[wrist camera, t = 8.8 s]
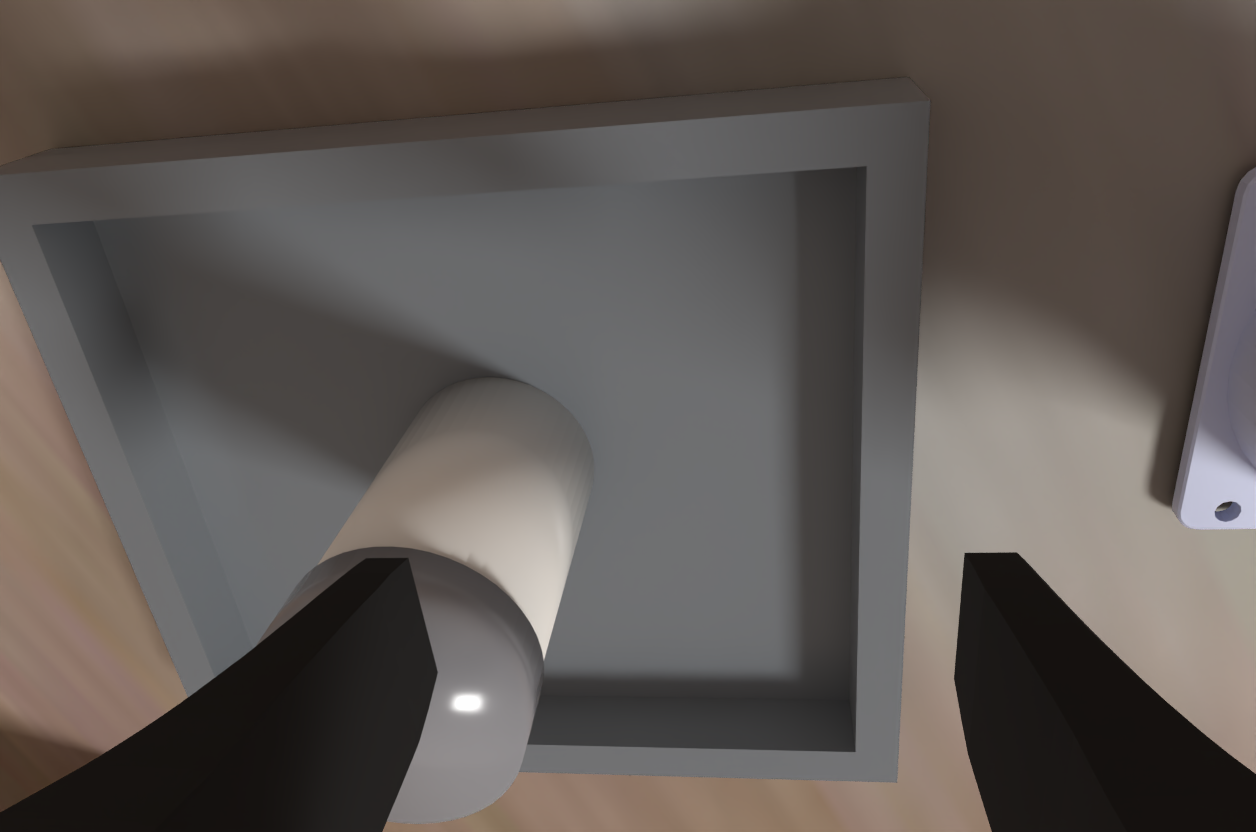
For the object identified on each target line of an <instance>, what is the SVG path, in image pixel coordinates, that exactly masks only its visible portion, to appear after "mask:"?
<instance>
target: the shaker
mask: <svg viewBox="0 0 1256 832" xmlns="http://www.w3.org/2000/svg"><path fill="white" fill-rule="evenodd" d="M593 480H594V459H593V453H592V450H591V446H590V443H589V441H588V439H587V436H586V434H585V432H584V431H583V429H582V427H581V426H580V424H579V423H578V421H577V420H576V419H575V418H574V416H573V415H572V414H571V413H570V412H569V411H568V410H567V409H566V408H565V407H564V406H563V405H562V404H561V403H559V402H558V401H557V400H555V399H554V398H553V397H551V396H550V395H548V394H546V393H545V392H543V391H541V390H539V389H537V388H535V387H533V386H531V385H528V384H525V383H522V382H519V381H515V380H510V379H505V378H495V377H483V378H474V379H467V380H464V381H461V382H457V383H454V384H452V385H450V386H448V387H446V388H444V389H442V390H441V391H439V392H438V393H436V394H435V395H434V396H433V397H431V398H430V399H429V400H428V401H427V402H426V403H425V404H424V406H423V407H422V408H421V409H420V411H419V412H418V414H417V415H416V417H415V418H414V420H413V421H412V423H411V424H410V426H409V427H408V429H407V430H406V432H405V433H404V435H403V436H402V438H401V440H400V441H399V443H398V444H397V446H396V447H395V449H394V450H393V452H392V453H391V455H390V456H389V458H388V459H387V461H386V462H385V464H384V465H383V467H382V468H381V470H380V471H379V473H378V474H377V476H376V477H375V479H374V480H373V482H372V483H371V485H370V486H369V488H368V489H367V491H366V492H365V494H364V495H363V497H362V498H361V500H360V501H359V503H358V504H357V506H356V507H355V509H354V510H353V512H352V513H351V515H350V516H349V518H348V519H347V521H346V523H345V524H344V526H343V527H342V529H341V530H340V532H339V533H338V535H337V536H336V538H335V539H334V541H333V542H332V544H331V545H330V547H329V548H328V550H327V551H326V553H325V554H324V556H323V557H322V559H321V560H320V562H319V563H318V565H317V566H315V567H314V568H313V569H312V570H311V571H309V572H308V573H307V574H306V575H305V576H304V577H303V578H302V579H301V581H300V582H299V583H298V584H297V585H296V587H295V588H294V590H293V591H292V593H291V594H290V596H289V597H288V599H287V600H286V602H285V603H284V605H283V606H282V608H281V609H280V611H279V612H278V614H277V615H276V617H275V618H274V620H273V621H272V623H271V624H270V626H269V627H268V629H267V630H266V631H265V633H264V634H263V636H262V637H261V639H260V640H259V642H258V643H257V645H258V644H259V643H261V642H262V641H263V640H264V639H265V638H267V637H268V636H269V635H270V634H272V633H273V632H274V631H275V630H277V629H278V628H279V627H280V626H282V625H283V624H284V623H285V622H286V621H288V620H289V619H290V618H291V617H293V616H294V615H295V614H296V613H298V612H299V611H300V610H301V609H302V608H304V607H305V606H306V605H307V604H308V603H310V602H311V601H312V600H313V599H315V598H316V597H317V596H318V595H319V594H321V593H322V592H323V591H324V590H325V589H327V588H328V587H329V586H330V585H332V584H333V583H334V582H335V581H337V580H338V579H339V578H340V577H342V576H343V575H344V574H345V573H347V572H348V571H349V570H350V569H352V568H353V567H354V566H356V565H357V564H359V563H360V562H361V561H363V560H364V559H365V558H409V562H410V566H411V570H412V574H413V577H414V581H415V585H416V589H417V593H418V597H419V601H420V605H421V609H422V612H423V616H424V620H425V624H426V628H427V632H428V636H429V640H430V644H431V647H432V651H433V655H434V659H435V663H436V667H437V671H438V674H437V678H436V682H435V686H434V690H433V694H432V698H431V702H430V706H429V710H428V713H427V717H426V720H425V724H424V727H423V731H422V734H421V738H420V741H419V744H418V747H417V749H416V752H415V754H414V757H413V759H412V762H411V764H410V766H409V769H408V771H407V774H406V776H405V779H404V781H403V783H402V786H401V788H400V791H399V793H398V796H397V798H396V800H395V803H394V805H393V807H392V810H391V812H390V815H389V817H388V819H387V821H389V822H397V823H410V824H426V823H438V822H445V821H451V820H455V819H459V818H462V817H466V816H468V815H471V814H473V813H476V812H478V811H480V810H482V809H484V808H485V807H487V806H489V805H491V804H492V803H493V802H495V801H496V800H497V799H498V798H500V797H501V796H502V795H503V794H504V793H505V792H506V791H507V789H508V788H509V787H510V786H511V785H512V783H513V781H514V780H515V778H516V776H517V775H518V772H519V770H520V767H521V764H522V761H523V757H524V754H525V750H526V746H527V743H528V739H529V735H530V731H531V728H532V724H533V720H534V717H535V713H536V709H537V706H538V702H539V698H540V694H541V691H542V686H543V680H544V658H545V655H546V651H547V648H548V644H549V640H550V637H551V633H552V630H553V626H554V622H555V619H556V615H557V612H558V608H559V604H560V601H561V597H562V594H563V590H564V586H565V583H566V579H567V576H568V572H569V568H570V565H571V561H572V558H573V554H574V550H575V547H576V543H577V540H578V536H579V532H580V529H581V525H582V522H583V518H584V514H585V511H586V507H587V504H588V500H589V496H590V493H591V489H592V485H593ZM257 645H256V646H257ZM256 646H255V647H256Z"/></svg>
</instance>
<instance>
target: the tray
mask: <svg viewBox="0 0 1256 832" xmlns="http://www.w3.org/2000/svg"><path fill="white" fill-rule="evenodd" d="M930 102H931V100H930V99H929V98H928V97H927V96H926V95H925V94H924V93H923V92H922V91H921V90H920V89H919V87H918V86H917V85H916V84H915V83H914V82H913V81H912V80H911V79H910V78H909V77H902V78H890V79H878V80H866V81H854V82H842V83H830V84H819V85H807V86H795V87H783V88H771V89H759V90H747V91H735V92H723V93H711V94H700V95H688V96H676V97H664V98H652V99H640V100H628V101H616V102H604V103H592V104H581V105H569V106H557V107H545V108H533V109H521V110H509V111H497V112H485V113H473V114H462V115H450V116H438V117H426V118H414V119H402V120H390V121H378V122H366V123H355V124H343V125H331V126H319V127H307V128H295V129H283V130H271V131H259V132H247V133H236V134H224V135H212V136H200V137H188V138H176V139H164V140H152V141H140V142H128V143H117V144H105V145H93V146H81V147H69V148H57V149H49V150H46V151H43V152H40V153H37V154H34V155H31V156H28V157H25V158H22V159H19V160H16V161H14V162H11V163H8V164H5V165H2V166H0V260H1V262H2V265H3V267H4V269H5V272H6V274H7V276H8V279H9V281H10V283H11V286H12V288H13V290H14V293H15V295H16V297H17V300H18V302H19V304H20V307H21V309H22V311H23V314H24V316H25V318H26V321H27V323H28V325H29V328H30V330H31V332H32V335H33V337H34V339H35V342H36V344H37V346H38V349H39V351H40V353H41V356H42V358H43V360H44V363H45V365H46V367H47V370H48V372H49V374H50V377H51V379H52V381H53V384H54V386H55V388H56V391H57V393H58V395H59V398H60V400H61V402H62V405H63V407H64V409H65V412H66V414H67V416H68V419H69V421H70V423H71V426H72V428H73V430H74V433H75V435H76V437H77V440H78V442H79V444H80V447H81V449H82V451H83V454H84V456H85V458H86V461H87V463H88V465H89V468H90V470H91V472H92V475H93V477H94V479H95V481H96V484H97V486H98V488H99V491H100V493H101V495H102V498H103V500H104V502H105V505H106V507H107V509H108V512H109V514H110V516H111V519H112V521H113V523H114V526H115V528H116V530H117V533H118V535H119V537H120V540H121V542H122V544H123V547H124V549H125V551H126V554H127V556H128V558H129V561H130V563H131V565H132V568H133V570H134V572H135V575H136V577H137V579H138V582H139V584H140V586H141V589H142V591H143V593H144V596H145V598H146V600H147V603H148V605H149V607H150V610H151V612H152V614H153V617H154V619H155V621H156V624H157V626H158V628H159V631H160V633H161V635H162V638H163V640H164V642H165V645H166V647H167V649H168V652H169V654H170V656H171V659H172V661H173V663H174V666H175V668H176V670H177V673H178V675H179V677H180V680H181V682H182V684H183V687H184V689H185V691H186V694H187V696H188V697H189V696H191V695H192V694H193V693H195V692H196V691H197V690H199V689H200V688H201V687H203V686H204V685H205V684H207V683H208V682H209V681H211V680H212V679H213V678H215V677H216V676H217V675H219V674H220V673H221V672H223V671H224V670H226V669H227V668H228V667H230V666H231V665H232V664H234V663H235V662H236V661H238V660H239V659H240V658H242V657H243V656H244V655H246V654H247V653H248V652H249V651H251V650H252V649H253V648H254V647H255V646H256V645H257V643H258V642H259V640H260V639H261V637H262V636H263V634H264V633H265V631H266V630H267V629H268V627H269V626H270V624H271V623H272V621H273V620H274V618H275V617H276V615H277V614H278V612H279V611H280V609H281V608H282V606H283V605H284V603H285V602H286V600H287V599H288V597H289V596H290V594H291V593H292V591H293V590H294V588H295V587H296V585H297V584H298V583H299V582H300V581H301V579H302V578H303V577H304V576H305V575H306V574H307V573H308V572H309V571H311V570H312V569H313V568H314V567H315V566H317V565H318V563H319V562H320V560H321V559H322V557H323V556H324V554H325V553H326V551H327V550H328V548H329V547H330V545H331V544H332V542H333V541H334V539H335V538H336V536H337V535H338V533H339V532H340V530H341V529H342V527H343V526H344V524H345V523H346V521H347V519H348V518H349V516H350V515H351V513H352V512H353V510H354V509H355V507H356V506H357V504H358V503H359V501H360V500H361V498H362V497H363V495H364V494H365V492H366V491H367V489H368V488H369V486H370V485H371V483H372V482H373V480H374V479H375V477H376V476H377V474H378V473H379V471H380V470H381V468H382V467H383V465H384V464H385V462H386V461H387V459H388V458H389V456H390V455H391V453H392V452H393V450H394V449H395V447H396V446H397V444H398V443H399V441H400V440H401V438H402V436H403V435H404V433H405V432H406V430H407V429H408V427H409V426H410V424H411V423H412V421H413V420H414V418H415V417H416V415H417V414H418V412H419V411H420V409H421V408H422V407H423V406H424V404H425V403H426V402H427V401H428V400H429V399H430V398H431V397H433V396H434V395H435V394H436V393H438V392H439V391H441V390H442V389H444V388H446V387H448V386H450V385H452V384H454V383H457V382H461V381H464V380H467V379H474V378H483V377H495V378H505V379H510V380H515V381H519V382H522V383H525V384H528V385H531V386H533V387H535V388H537V389H539V390H541V391H543V392H545V393H546V394H548V395H550V396H551V397H553V398H554V399H555V400H557V401H558V402H559V403H561V404H562V405H563V406H564V407H565V408H566V409H567V410H568V411H569V412H570V413H571V414H572V415H573V416H574V418H575V419H576V420H577V421H578V423H579V424H580V426H581V427H582V429H583V431H584V432H585V434H586V436H587V439H588V441H589V443H590V446H591V450H592V453H593V459H594V480H593V485H592V489H591V493H590V496H589V500H588V504H587V507H586V511H585V514H584V518H583V522H582V525H581V529H580V532H579V536H578V540H577V543H576V547H575V550H574V554H573V558H572V561H571V565H570V568H569V572H568V576H567V579H566V583H565V586H564V590H563V594H562V597H561V601H560V604H559V608H558V612H557V615H556V619H555V622H554V626H553V630H552V633H551V637H550V640H549V644H548V648H547V651H546V655H545V658H544V680H543V686H542V691H541V694H540V698H539V702H538V706H537V709H536V713H535V717H534V720H533V724H532V728H531V731H530V735H529V739H528V743H527V746H526V750H525V754H524V757H523V761H522V764H521V767H520V770H519V772H538V773H574V774H610V775H646V776H682V777H718V778H754V779H790V780H826V781H862V782H897V775H898V754H899V734H900V713H901V693H902V673H903V652H904V632H905V612H906V591H907V571H908V550H909V530H910V510H911V489H912V469H913V449H914V428H915V408H916V387H917V367H918V347H919V326H920V306H921V286H922V265H923V245H924V224H925V204H926V184H927V163H928V143H929V123H930Z"/></svg>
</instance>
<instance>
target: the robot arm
mask: <svg viewBox="0 0 1256 832" xmlns="http://www.w3.org/2000/svg"><path fill="white" fill-rule="evenodd" d="M1229 501H1232V504H1231V506H1230V507H1228V508H1227V509H1225V510H1223V511H1218V512H1217V511H1215V510H1216V508H1217V507H1218V506H1219V505H1221V504H1222V503H1224V502H1229ZM1172 511H1173V512H1174V514H1175V515H1176V517H1177V518H1178V519H1179V521H1180V522H1181V524H1182V525H1184V526H1186V527H1188V528H1191V529H1256V167H1255V168H1253V169H1252V170H1250V171H1248V173H1247V174H1246V175H1245V176H1244V177H1243V178H1242V179H1241V180H1240V182H1239V185H1238V187H1237V190H1236V193H1235V198H1234V203H1233V208H1232V213H1231V217H1230V222H1229V227H1228V232H1227V237H1226V242H1225V247H1224V252H1223V257H1222V262H1221V266H1220V271H1219V276H1218V281H1217V286H1216V291H1215V296H1214V301H1213V306H1212V311H1211V315H1210V320H1209V325H1208V330H1207V335H1206V340H1205V345H1204V350H1203V355H1202V360H1201V364H1200V369H1199V374H1198V379H1197V384H1196V389H1195V394H1194V399H1193V404H1192V409H1191V413H1190V418H1189V423H1188V428H1187V433H1186V438H1185V443H1184V448H1183V453H1182V457H1181V462H1180V467H1179V472H1178V477H1177V482H1176V487H1175V492H1174V497H1173V502H1172ZM437 674H438V671H437V667H436V663H435V659H434V655H433V651H432V647H431V644H430V640H429V636H428V632H427V628H426V624H425V620H424V616H423V612H422V609H421V605H420V601H419V597H418V593H417V589H416V585H415V581H414V577H413V574H412V570H411V566H410V562H409V558H365V559H364V560H363V561H361V562H360V563H359V564H357V565H356V566H354V567H353V568H352V569H350V570H349V571H348V572H347V573H345V574H344V575H343V576H342V577H340V578H339V579H338V580H337V581H335V582H334V583H333V584H332V585H330V586H329V587H328V588H327V589H325V590H324V591H323V592H322V593H321V594H319V595H318V596H317V597H316V598H315V599H313V600H312V601H311V602H310V603H308V604H307V605H306V606H305V607H304V608H302V609H301V610H300V611H299V612H298V613H296V614H295V615H294V616H293V617H291V618H290V619H289V620H288V621H286V622H285V623H284V624H283V625H282V626H280V627H279V628H278V629H277V630H275V631H274V632H273V633H272V634H270V635H269V636H268V637H267V638H265V639H264V640H263V641H262V642H261V643H259V644H258V645H257V646H256V647H254V648H253V649H252V650H251V651H249V652H248V653H247V654H246V655H244V656H243V657H242V658H240V659H239V660H238V661H236V662H235V663H234V664H232V665H231V666H230V667H228V668H227V669H226V670H224V671H223V672H221V673H220V674H219V675H217V676H216V677H215V678H213V679H212V680H211V681H209V682H208V683H207V684H205V685H204V686H203V687H201V688H200V689H199V690H197V691H196V692H195V693H193V694H192V695H191V696H189V697H188V698H187V699H185V700H184V701H183V702H181V703H180V704H179V705H177V706H176V707H174V708H173V709H171V710H170V711H169V712H167V713H166V714H164V715H163V716H161V717H160V718H158V719H157V720H155V721H154V722H152V723H151V724H149V725H148V726H146V727H145V728H143V729H142V730H140V731H139V732H137V733H136V734H134V735H133V736H131V737H129V738H128V739H126V740H125V741H123V742H122V743H120V744H118V745H117V746H115V747H114V748H112V749H111V750H109V751H107V752H106V753H104V754H103V755H101V756H99V757H98V758H96V759H94V760H93V761H91V762H89V763H88V764H86V765H85V766H83V767H81V768H79V769H77V770H76V771H74V772H72V773H70V774H68V775H67V776H65V777H63V778H61V779H60V780H58V781H56V782H54V783H52V784H51V785H49V786H47V787H45V788H43V789H42V790H40V791H38V792H36V793H35V794H33V795H31V796H29V797H27V798H26V799H24V800H22V801H20V802H18V803H17V804H15V805H13V806H11V807H10V808H8V809H6V810H4V811H2V812H0V832H382V831H383V829H384V826H385V824H386V822H387V819H388V817H389V815H390V812H391V810H392V807H393V805H394V803H395V800H396V798H397V796H398V793H399V791H400V788H401V786H402V783H403V781H404V779H405V776H406V774H407V771H408V769H409V766H410V764H411V762H412V759H413V757H414V754H415V752H416V749H417V747H418V744H419V741H420V738H421V734H422V731H423V727H424V724H425V720H426V717H427V713H428V710H429V706H430V702H431V698H432V694H433V690H434V686H435V682H436V678H437ZM954 680H955V686H956V691H957V697H958V703H959V708H960V714H961V720H962V725H963V730H964V735H965V741H966V746H967V751H968V755H969V759H970V762H971V765H972V769H973V772H974V775H975V779H976V782H977V785H978V788H979V792H980V795H981V798H982V801H983V804H984V808H985V811H986V814H987V817H988V821H989V824H990V827H991V830H992V832H1256V774H1255V773H1254V772H1252V771H1251V770H1250V769H1248V768H1247V767H1246V766H1244V765H1243V764H1242V763H1240V762H1239V761H1238V760H1236V759H1235V758H1234V757H1232V756H1231V755H1230V754H1228V753H1227V752H1226V751H1225V750H1223V749H1222V748H1221V747H1220V746H1218V745H1217V744H1216V743H1215V742H1213V741H1212V740H1211V739H1210V738H1208V737H1207V736H1206V735H1205V734H1203V733H1202V732H1201V731H1200V730H1199V729H1197V728H1196V727H1195V726H1194V725H1193V724H1192V723H1190V722H1189V721H1188V720H1187V719H1186V718H1185V717H1183V716H1182V715H1181V714H1180V713H1179V712H1178V711H1177V710H1175V709H1174V708H1173V707H1172V706H1171V705H1170V704H1168V703H1167V702H1166V701H1165V700H1164V699H1163V698H1162V697H1161V696H1159V695H1158V694H1157V693H1156V692H1155V691H1154V690H1153V689H1152V688H1151V687H1150V686H1149V685H1147V684H1146V683H1145V682H1144V681H1143V680H1142V679H1141V678H1140V677H1139V676H1138V675H1137V674H1136V673H1135V672H1134V671H1133V670H1132V669H1131V668H1130V667H1128V666H1127V665H1126V664H1125V663H1124V662H1123V661H1122V660H1121V659H1120V658H1119V657H1118V656H1117V655H1116V654H1115V653H1114V652H1113V651H1112V650H1111V649H1110V648H1109V647H1108V646H1107V645H1106V644H1105V643H1104V642H1103V641H1102V640H1101V639H1100V638H1099V637H1098V636H1097V635H1096V634H1095V633H1094V632H1093V631H1092V630H1091V629H1090V628H1089V627H1088V626H1087V625H1086V624H1085V623H1084V622H1083V621H1082V620H1081V619H1080V618H1079V617H1078V616H1077V615H1076V614H1075V613H1074V612H1073V611H1072V610H1071V609H1070V608H1069V607H1068V606H1067V605H1066V604H1065V602H1064V601H1063V600H1062V599H1061V598H1060V597H1059V596H1058V595H1057V594H1056V593H1055V592H1054V591H1053V590H1052V589H1051V588H1050V586H1049V585H1048V584H1047V583H1046V582H1045V581H1044V580H1043V579H1042V578H1041V577H1040V576H1039V575H1038V574H1037V573H1036V571H1035V570H1034V569H1033V568H1032V567H1031V566H1030V565H1029V564H1028V563H1027V562H1026V561H1025V560H1024V559H1023V558H1022V557H1021V556H1020V555H1019V554H1018V553H965V555H964V567H963V579H962V591H961V603H960V615H959V627H958V639H957V651H956V663H955V675H954Z"/></svg>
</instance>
